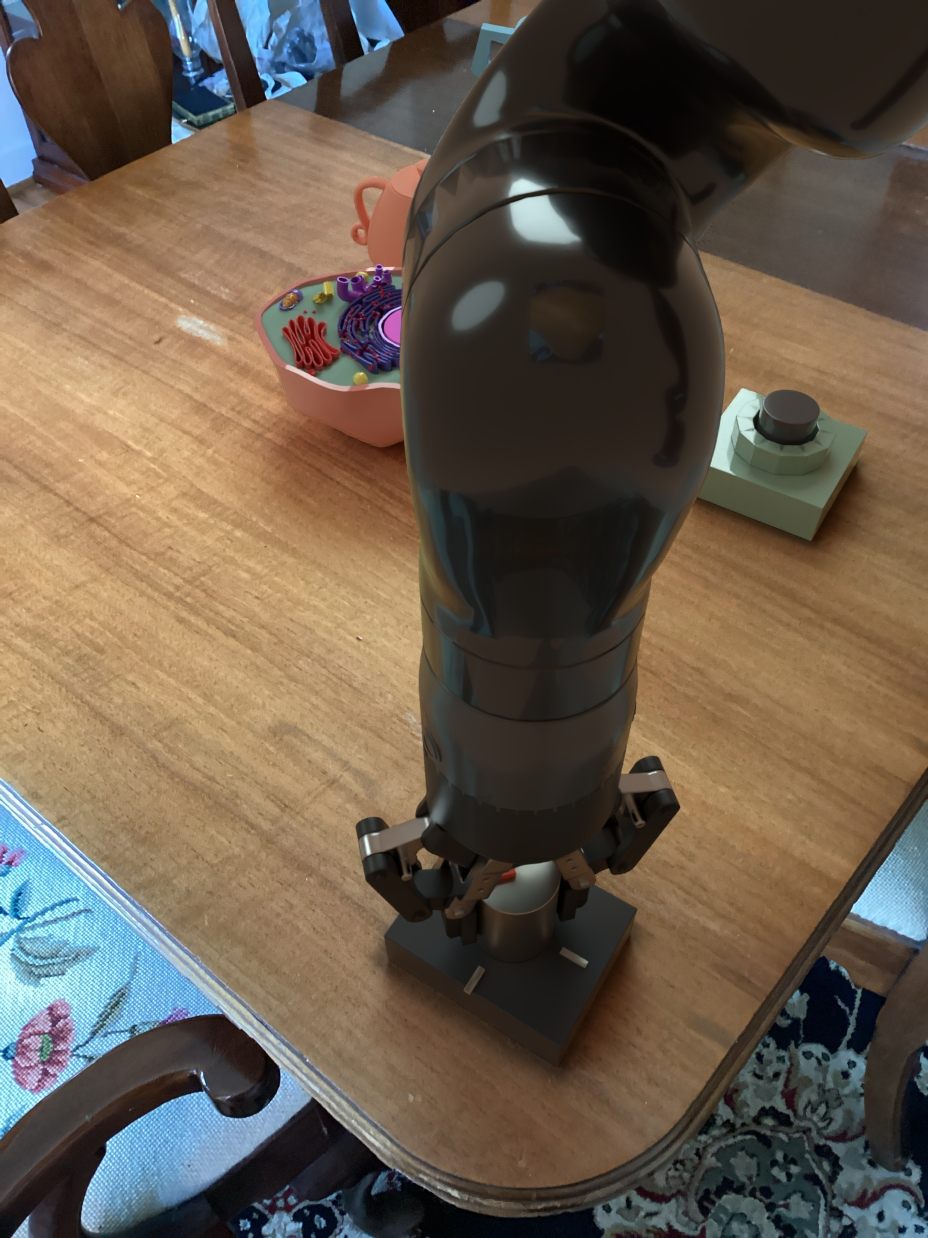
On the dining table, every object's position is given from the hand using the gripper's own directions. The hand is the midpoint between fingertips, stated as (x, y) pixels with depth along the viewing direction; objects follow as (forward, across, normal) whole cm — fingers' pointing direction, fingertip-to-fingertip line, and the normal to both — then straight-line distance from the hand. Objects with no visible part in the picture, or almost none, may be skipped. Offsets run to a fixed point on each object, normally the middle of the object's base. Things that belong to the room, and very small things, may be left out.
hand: (512, 914), depth 49 cm
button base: (+4, -29, -31) cm, 42 cm away
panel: (+4, 0, 0) cm, 4 cm away
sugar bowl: (+5, -10, -66) cm, 67 cm away
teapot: (+5, -31, -94) cm, 100 cm away
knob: (+1, 0, 0) cm, 1 cm away
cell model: (+4, -2, -45) cm, 46 cm away
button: (0, -29, -31) cm, 42 cm away
